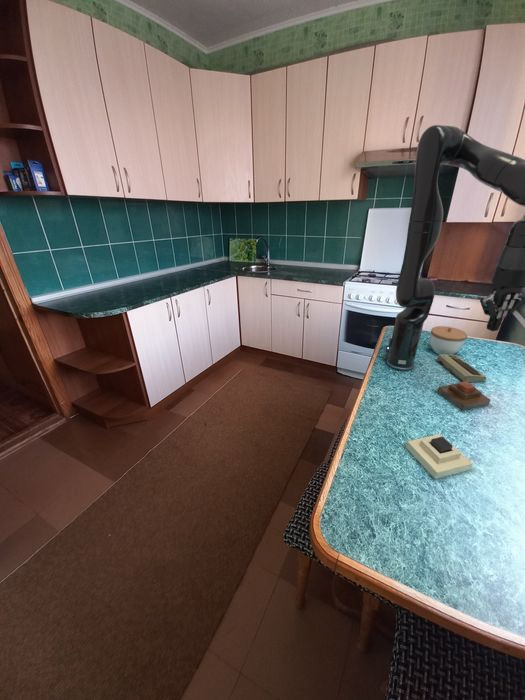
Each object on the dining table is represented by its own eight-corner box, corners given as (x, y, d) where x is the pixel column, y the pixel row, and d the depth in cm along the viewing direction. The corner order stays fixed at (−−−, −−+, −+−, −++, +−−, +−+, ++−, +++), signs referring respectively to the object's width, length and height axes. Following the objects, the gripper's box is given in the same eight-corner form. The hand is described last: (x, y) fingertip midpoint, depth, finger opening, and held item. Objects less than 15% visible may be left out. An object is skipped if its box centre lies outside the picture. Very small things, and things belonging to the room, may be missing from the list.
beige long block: (485, 381, 101) (488, 373, 99) (462, 383, 101) (465, 375, 99) (455, 360, 115) (458, 352, 113) (436, 361, 115) (438, 353, 113)
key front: (429, 444, 71) (431, 438, 71) (440, 441, 72) (442, 436, 71) (439, 453, 69) (441, 448, 68) (451, 451, 69) (453, 445, 69)
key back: (456, 387, 92) (458, 382, 92) (465, 385, 93) (466, 381, 92) (465, 393, 90) (467, 388, 89) (473, 391, 90) (475, 386, 90)
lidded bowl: (421, 344, 128) (427, 321, 122) (452, 345, 126) (460, 322, 121) (432, 358, 116) (439, 333, 111) (466, 359, 115) (475, 334, 110)
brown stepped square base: (436, 392, 96) (439, 382, 94) (461, 387, 98) (465, 377, 97) (462, 410, 88) (466, 400, 86) (488, 405, 90) (493, 394, 88)
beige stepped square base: (405, 447, 75) (408, 435, 73) (437, 439, 77) (441, 428, 76) (434, 479, 67) (439, 467, 65) (470, 469, 69) (475, 457, 67)
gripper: (521, 261, 76) (498, 322, 84) (480, 264, 74) (460, 327, 81) (552, 266, 70) (524, 332, 78) (509, 270, 67) (484, 338, 75)
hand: (491, 329), depth 80 cm, fingers closed
